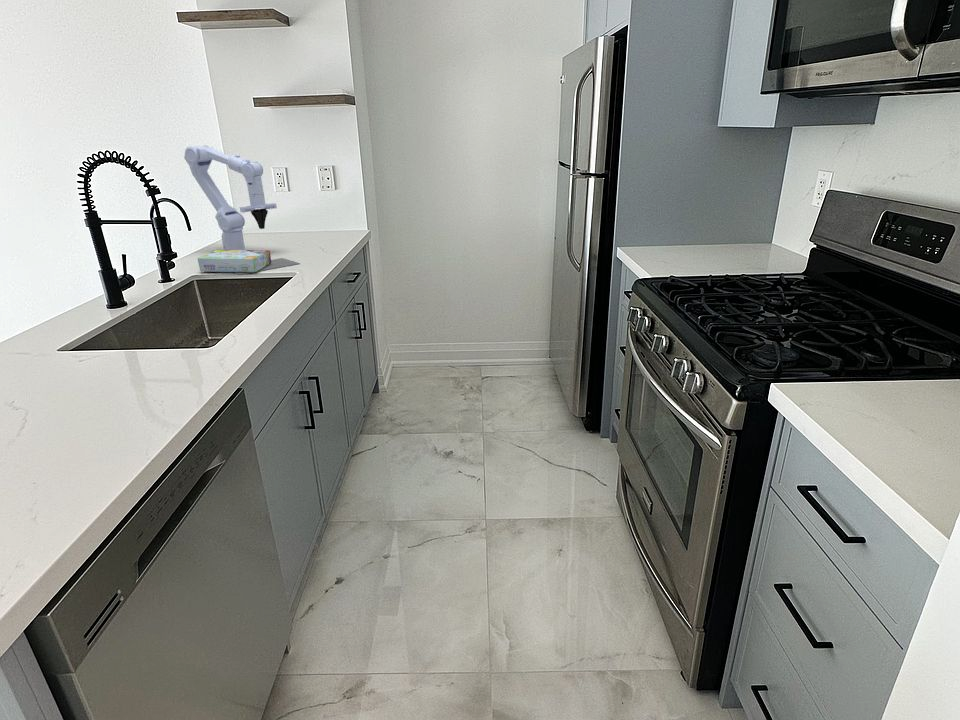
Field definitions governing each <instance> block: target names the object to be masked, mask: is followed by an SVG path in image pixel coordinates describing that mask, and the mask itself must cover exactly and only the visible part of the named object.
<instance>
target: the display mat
mask: <svg viewBox="0 0 960 720" xmlns="http://www.w3.org/2000/svg"><path fill="white" fill-rule="evenodd" d="M300 264H301V263H300V262H297V261H294V260H291V259H287V258H283V257H280V258H274V259H271V263H270V264H269V265H267V266H265V267H263V268H262V269H260V270H258V271H256V272H234V273H233V274H235V273H237V274H236V275H238V274H239V276H242V275H247V274H252V273H258V272H265V271H270V270H273V269H274V270H275V269H280V268H287V267H291V266H296V265H300ZM286 266H287V267H286Z"/></svg>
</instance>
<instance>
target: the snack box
mask: <svg viewBox="0 0 960 720" xmlns="http://www.w3.org/2000/svg"><path fill="white" fill-rule="evenodd" d="M271 260H272V258H271V251H270V250H265V249H264V250H263V249H256V250H255V249H246V250H224V249H215V250H214V251H213V250H212V251H211V252H209V253H207V254H204V255H202V256H200V257H197V262H198V266H199V271H200V272H205V273H211V272H212V273H213V272H216V273H219V272H220V273H233V272H254V273H257V272H256V271H258V270H260V269H262V268H263V267H265V266H267V265H269V264H270V263H271Z"/></svg>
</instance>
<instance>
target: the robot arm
mask: <svg viewBox="0 0 960 720" xmlns="http://www.w3.org/2000/svg"><path fill="white" fill-rule="evenodd" d="M184 160H185V162H186V163H187V164H188V166H189V169H190V172H191V175H192V176H193V178H194V179H195V181H196V182H197V184H198V185H199V187H200V189H201V190H202V192H203V193H204V194H205V196H206V197H207V199H208V200H209V202H210V203H211V205H212V207H213V208H214V209H215V211H216V214H215V219H216V221H217V224H218V227H219V228H220V230H222V234H221V240H222V246H223V250H247V249H246V247H245V241H244V234H243V230H244V227H245V223H246V220H245V217H244V216H243V214H244V213H248V212H250V214H251V215H252V217H253V218H254V220H255V222H256V223H257V225H258V228H259V229H260V230H262V229H263V230H264V229H266V228H265V226H266V219H267V216H268V213H269V212H268V210H273V209H277V208H278V207H277V203H273V202H272V203H266V199H265V192H264V188H263V187H264V185H263V180H262V176H263V174H264V167H263V166H262V164H261V163H259V162H258V161H253V162H251V160H250V159H249V158H248V159H245V158H243V157H240V155H239V154H233V155H228V154H225V153H223V152H221V151H219V150H217V149H215V148H214V147H213V146H209V145H198V146H188V147H186V148H185V150H184ZM212 161H216V162H219V163H221V164H225V165H227V167H228V169H229V170H232V171H234V172H237V173H239V174H241V175H242V176H243V177H244V180H245V182H246V186H247V192H248V197H249V199H248V200H249V203H250V205H246V206H241V207H239V210H240V211H238V210H237V208H235V207H233V206H231V205H230V203H228V202H227V201H228V200H226V199H225V197H224V196H223V194H222V193H221V190H220V189H219V188H218V186H217V185H216V183H215V182H214V180H213V179H212V177H211V175H210V174H209V173H208V171H209V169H210V166H211V164H212Z"/></svg>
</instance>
